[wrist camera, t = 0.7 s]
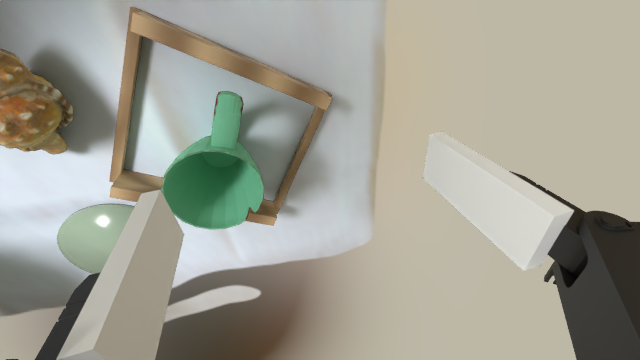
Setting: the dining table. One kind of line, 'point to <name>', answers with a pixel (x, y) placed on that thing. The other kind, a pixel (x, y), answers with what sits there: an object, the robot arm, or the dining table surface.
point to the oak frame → (185, 41)
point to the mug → (215, 174)
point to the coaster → (92, 234)
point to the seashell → (30, 109)
